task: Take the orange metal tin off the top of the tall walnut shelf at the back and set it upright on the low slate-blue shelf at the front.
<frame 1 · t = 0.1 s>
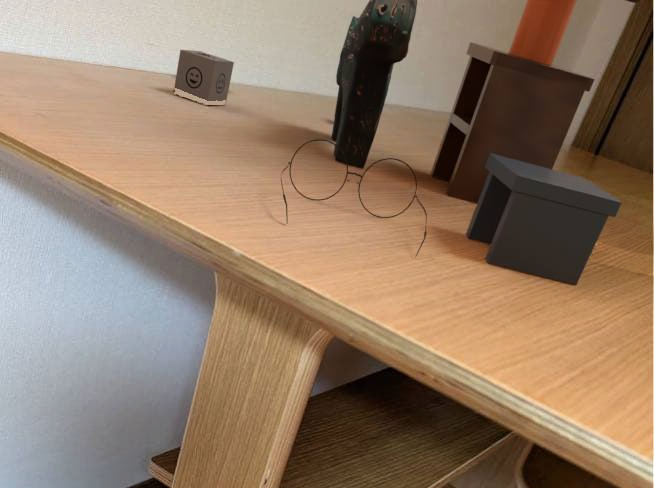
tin: (529, 59, 87), point 14 cm above the table, touching tall shelf
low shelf: (518, 259, 72), on the table
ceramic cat: (342, 152, 98), on the table
eyeglasses: (347, 226, 68), on the table
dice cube: (199, 101, 105), on the table
tall shelf: (479, 195, 95), on the table
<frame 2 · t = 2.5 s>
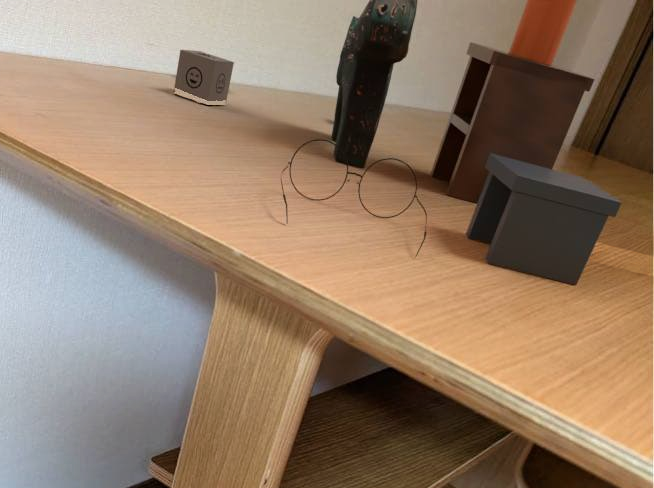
nothing on the table moved.
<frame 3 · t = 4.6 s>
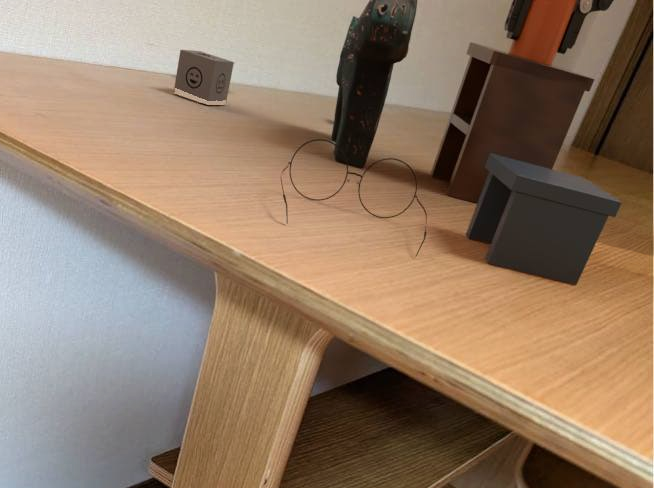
hand: (535, 45, 86), 15 cm above the table, tool pointing down, fingers closed on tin, 4 cm apart
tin: (529, 59, 87), point 14 cm above the table, touching gripper, tall shelf
everything else where it was.
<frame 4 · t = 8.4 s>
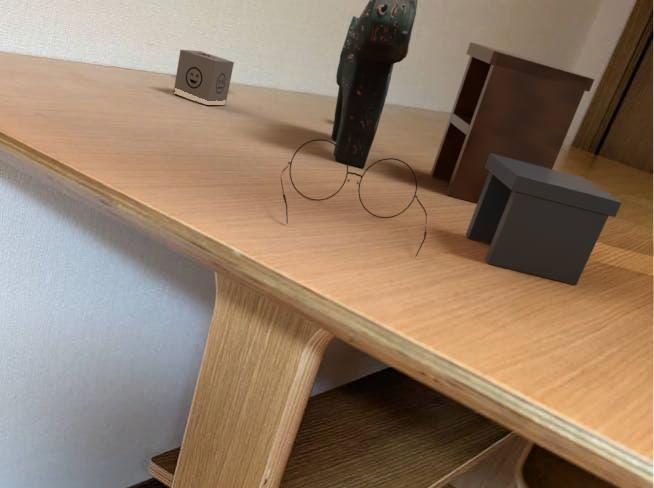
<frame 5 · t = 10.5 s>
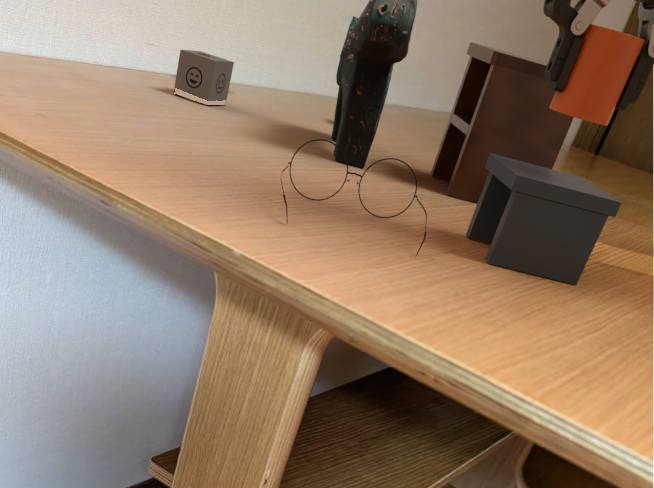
hand: (586, 98, 65), 13 cm above the table, tool pointing down, fingers closed on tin, 4 cm apart
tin: (577, 116, 66), point 12 cm above the table, touching gripper
everything else where it was.
when the fingers open (8 cm above the table, at t = 12.1 s): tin stays where it is, resting on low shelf.
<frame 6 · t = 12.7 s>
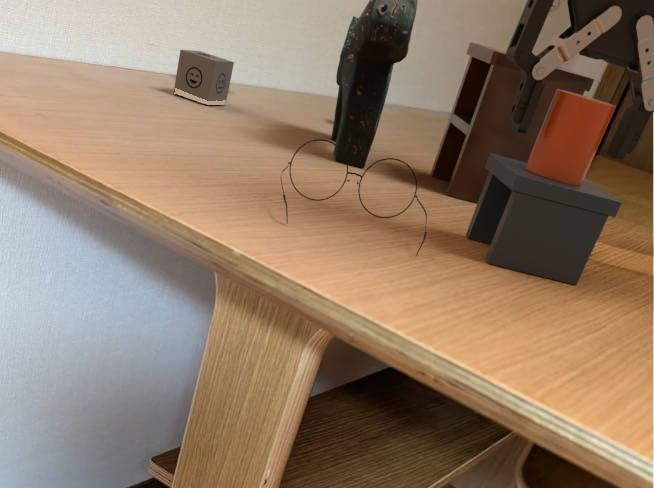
hand: (566, 144, 67), 9 cm above the table, tool pointing down, fingers open, 8 cm apart
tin: (553, 176, 68), point 7 cm above the table, touching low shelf
everything else where it was.
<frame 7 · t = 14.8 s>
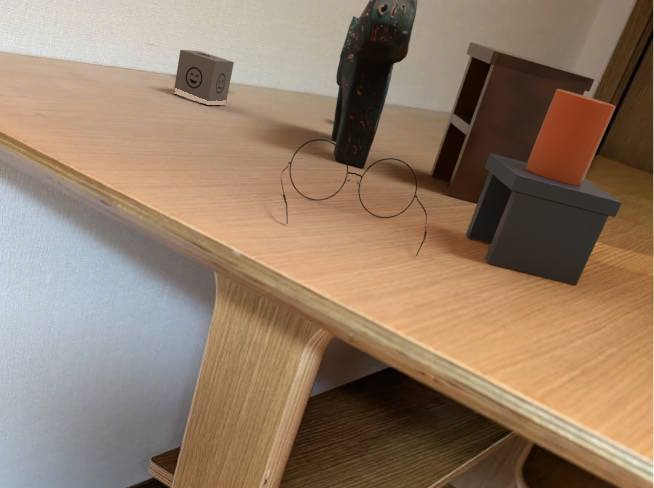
nothing on the table moved.
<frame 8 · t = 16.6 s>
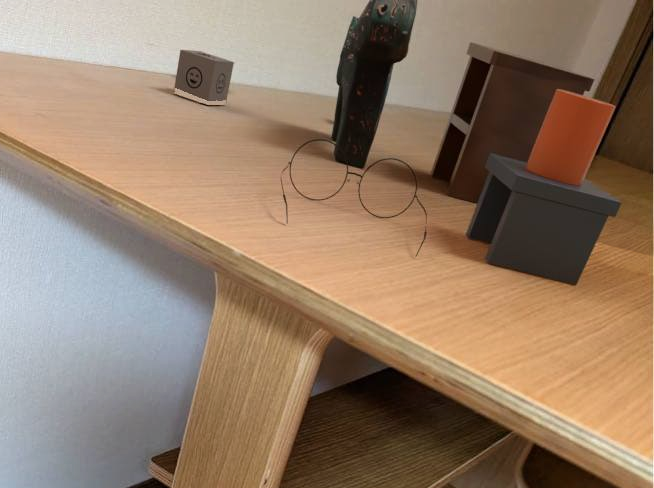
nothing on the table moved.
at the end: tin 0.0 cm off-centre on the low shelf, point 7.0 cm above the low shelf's base; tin tilted 0°; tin touching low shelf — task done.
